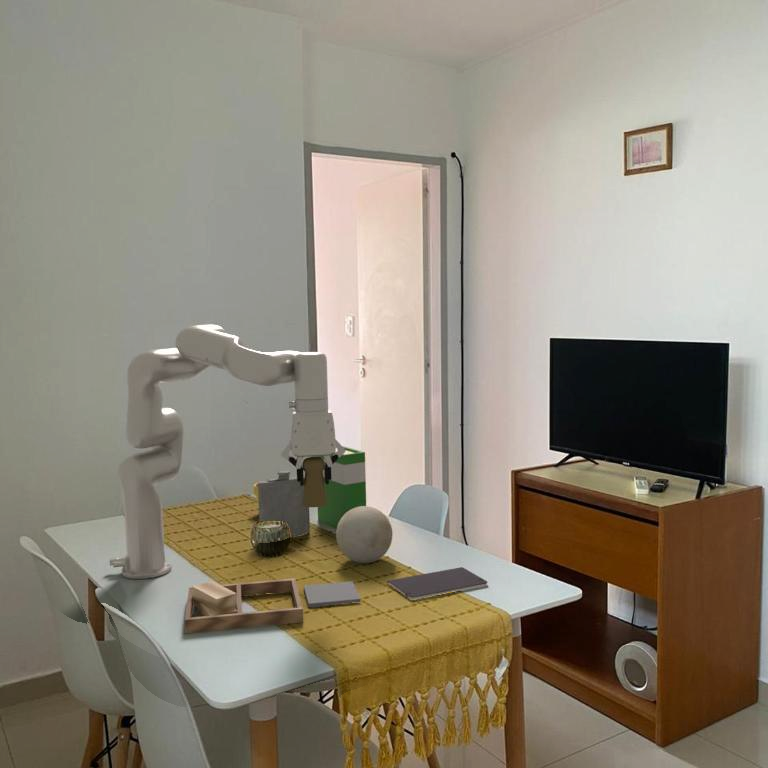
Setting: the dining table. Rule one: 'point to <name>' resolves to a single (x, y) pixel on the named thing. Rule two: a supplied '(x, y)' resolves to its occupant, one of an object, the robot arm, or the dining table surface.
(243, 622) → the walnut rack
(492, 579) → the dining table surface
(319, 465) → the cork
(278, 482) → the hip flask
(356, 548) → the decorative sphere
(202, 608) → the block
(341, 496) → the hardback book
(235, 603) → the top offcut
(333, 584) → the rubber mat
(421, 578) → the notebook
